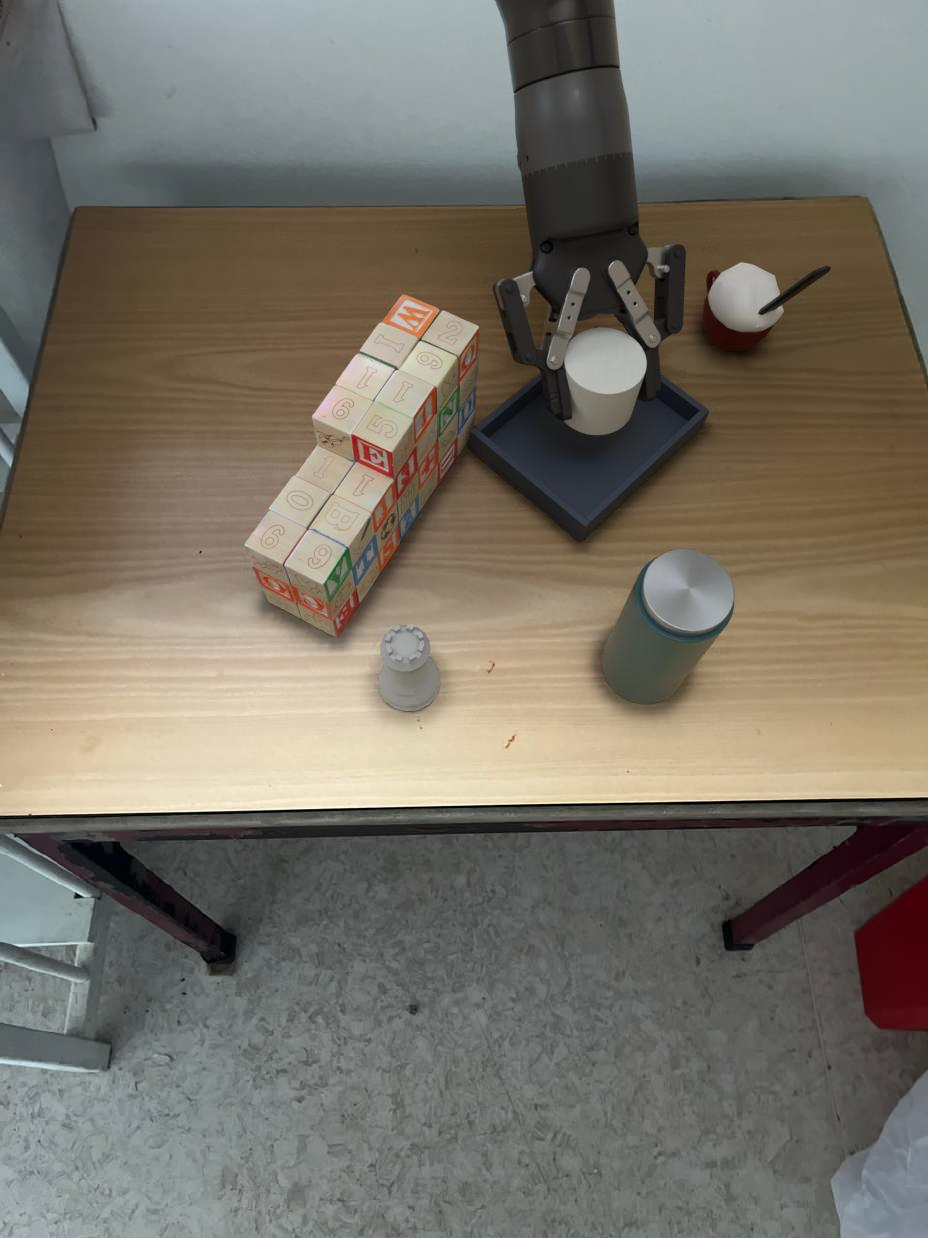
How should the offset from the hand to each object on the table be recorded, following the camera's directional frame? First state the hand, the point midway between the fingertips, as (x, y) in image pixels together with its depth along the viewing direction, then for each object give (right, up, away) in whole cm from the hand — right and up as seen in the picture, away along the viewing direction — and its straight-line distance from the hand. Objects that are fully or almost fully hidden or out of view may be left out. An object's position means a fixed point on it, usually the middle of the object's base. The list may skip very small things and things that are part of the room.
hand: (605, 408), depth 63 cm
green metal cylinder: (+2, -19, -2) cm, 19 cm away
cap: (-1, +1, +2) cm, 2 cm away
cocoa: (+13, +9, +11) cm, 19 cm away
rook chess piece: (-15, -21, -2) cm, 25 cm away
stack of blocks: (-17, -8, +3) cm, 19 cm away
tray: (-1, -1, +6) cm, 6 cm away
